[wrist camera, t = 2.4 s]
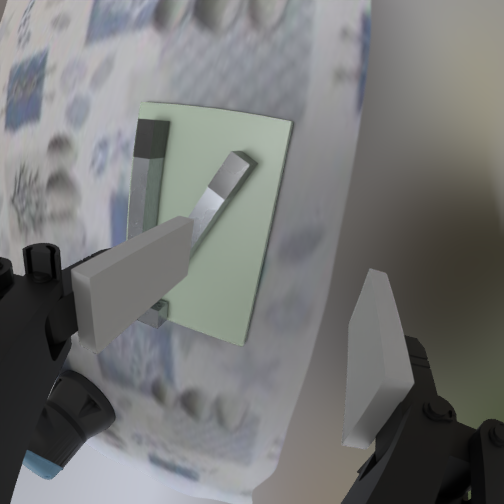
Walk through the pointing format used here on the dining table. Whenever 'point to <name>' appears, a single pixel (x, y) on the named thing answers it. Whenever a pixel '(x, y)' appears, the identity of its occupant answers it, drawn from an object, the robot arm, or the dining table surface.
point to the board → (232, 218)
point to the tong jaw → (219, 194)
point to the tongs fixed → (147, 193)
